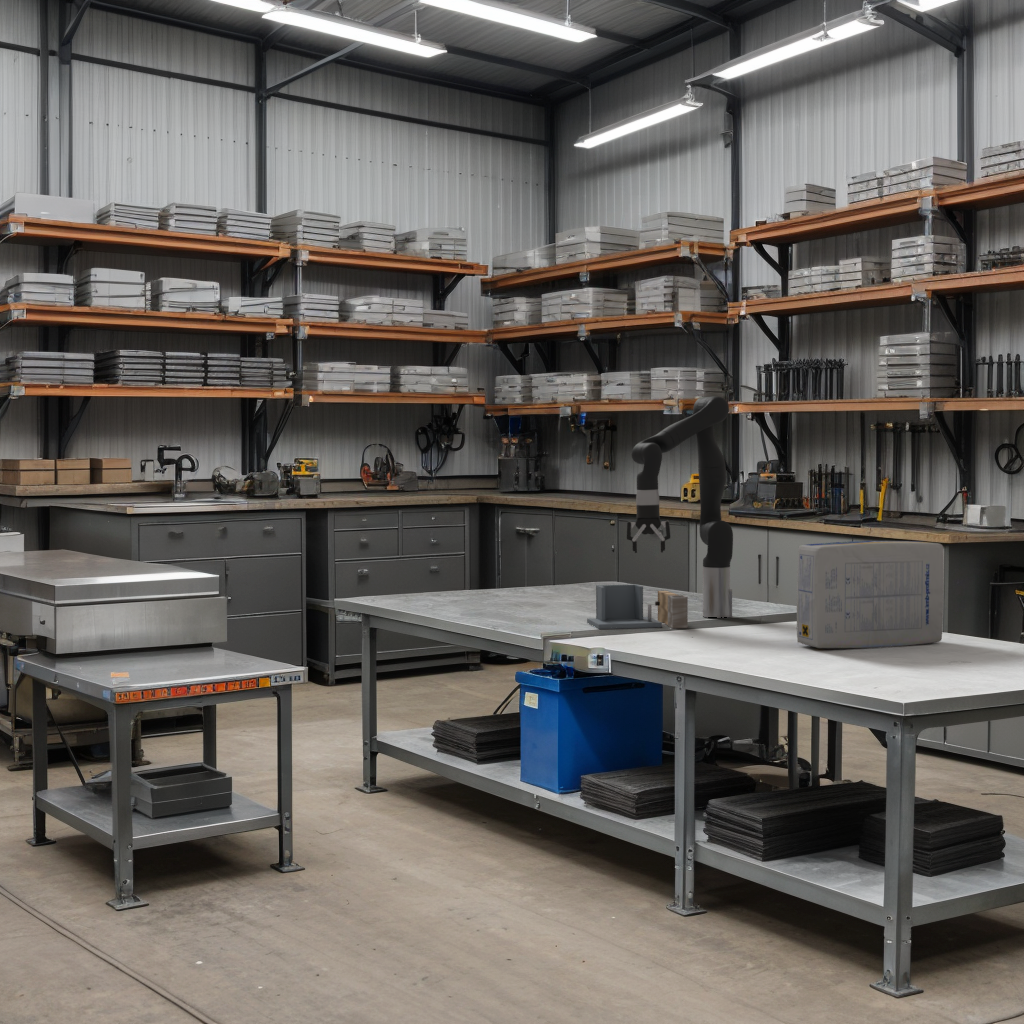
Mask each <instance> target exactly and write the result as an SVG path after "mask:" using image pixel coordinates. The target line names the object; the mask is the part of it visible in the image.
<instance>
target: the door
mask: <svg viewBox="0 0 1024 1024" xmlns="http://www.w3.org/2000/svg"><path fill="white" fill-rule="evenodd" d="M688 599H689V598H688V596H687V595H681V594H677V593H674V592H671V591H668V590H657V600H655V601H654V605H655V606H657V621H659V622H663V623H662V624H664V623H665V625H667V627H668V628H670V629H688V627H689V626H688V618H689V617H688V616H689V615H688V612H689V611H688V609H689V606H688V605H689V604H688V601H689V600H688Z"/></svg>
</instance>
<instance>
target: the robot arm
mask: <svg viewBox="0 0 1024 1024" xmlns="http://www.w3.org/2000/svg"><path fill="white" fill-rule="evenodd" d="M692 409H693V410H692V415H690V416H688V417H685V418H683V419H681V420H679V421H675V422H674V423H672V424H670V425H669V426H667V427H665V428H664V429H662V430H661V431H659V432H658V433H657V434H655V435H653V436H651V437H647V438H646V439H643V440H641V441H639V442H638V443H637V444H635V446H633V448H632V450H631V458H632V461H634V462H635V464H638V465H643V468H642V470H641V471H640V472H638V473H637V475H636V494H635V498H636V500H635V505H636V521H631V520H630V521H627V524H626V540H628V541H631V542H632V551H633V552H634V554H638V541H637V540H638V538H639V537H640V535H655V534H656V536H657V537H658V538H659V539H660V553H664V551H666V541H667V540H669V539H671V527H670V525H671V524H670V521H669V520H665V521H664V520H663V521H661V519H660V518H661V517H660V516H661V515H660V493H659V474H660V470H661V466H662V465H661V464H662V462H663V461H662V460H663V453H664V454H665V453H668V452H670V451H672V450H673V449H675V448H677V447H678V446H679V445H681V444H682V443H684V442H685V441H687V440H688V439H690V438H691V437H693V436H694V435H695V438H696V450H697V458H698V459H697V460H698V461H697V462H698V465H697V467H698V482H699V483H698V484H699V501H700V503H699V504H700V515H699V537H700V539H701V542H703V544H704V545H706V546H707V550H706V551H707V552H706V555H705V557H704V558H703V559H702V617H703V616H704V618H708V617H717V618H716V619H725V618H724V617H727V618H733V589H732V588H731V562H732V558H733V551H734V549H733V548H734V547H733V546H734V532H733V528H732V526H731V525H730V523H729V522H727V521H725V520H722V511H721V505H722V499H723V495H724V491H725V488H726V484H727V470H726V469H727V468H726V460H725V457H724V455H723V453H722V451H721V449H720V447H719V445H718V444H717V443H718V442H717V441H716V438H715V428H714V425H716V424H719V423H721V422H723V421H725V420H726V418H727V417H728V415H729V413H730V412H729V411H730V406H729V403H728V401H727V400H726V399H725V398H724V397H722V396H715V395H713V396H711V395H710V396H704V397H703V396H702V397H699V398H697V400H695V402H694V404H693V408H692ZM634 526H635V527H636V528H637V530H638V531H637V532H636V533H635V534H634V536H632V529H633V528H634ZM661 526H662V527H663V528H665V534H666V535H663V534H662V531H660V527H661ZM721 617H722V618H721Z"/></svg>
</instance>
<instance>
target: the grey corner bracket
mask: <svg viewBox="0 0 1024 1024" xmlns="http://www.w3.org/2000/svg"><path fill="white" fill-rule="evenodd" d="M595 592H596V593H595V599H596V600H595V603H596V611H595V614H596V615H595V617H594V618H593V617H591V618H590V617H589V618H587V619H586V623H587V624H588V623H589V624H588V625H590V624H591V625H590V626H592V625H593V626H592V627H594V626H595V627H596V629H597V628H598V630H612V629H614V630H615V629H616V630H618V629H619V630H620V629H645V628H646V629H647V628H662V627H663V623H662V622H660V621H658V619H654V618H652V604H651V603H648V604H647V616H644V586H642V585H640V584H637V583H634V584H601V585H600V584H599V585H595ZM595 627H594V628H595Z"/></svg>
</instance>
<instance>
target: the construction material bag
mask: <svg viewBox="0 0 1024 1024" xmlns="http://www.w3.org/2000/svg"><path fill="white" fill-rule="evenodd" d="M944 570H945V569H944V546H943V544H941V543H940V542H939V543H937V542H926V541H918V540H912V541H911V540H855V541H854V540H851V541H836V542H823V543H822V542H821V543H810V544H809V543H808V544H802V545H799V546H798V553H797V571H796V573H797V575H796V638H797V643H800V644H802V645H806V646H809V647H813V648H817V649H878V647H881V648H893V647H894V648H895V647H907V646H917V645H925V644H933V643H939V642H941V641H942V638H943V620H944V617H943V616H944V589H945V588H944V579H945V578H944Z"/></svg>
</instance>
